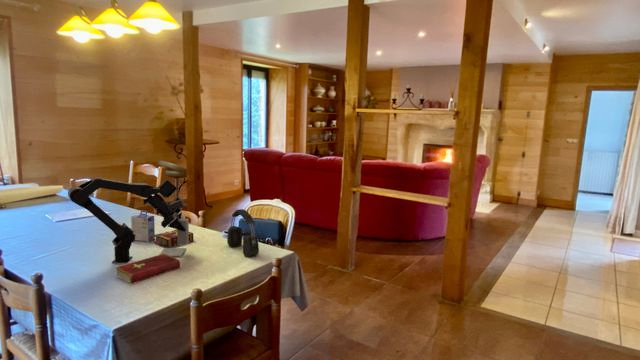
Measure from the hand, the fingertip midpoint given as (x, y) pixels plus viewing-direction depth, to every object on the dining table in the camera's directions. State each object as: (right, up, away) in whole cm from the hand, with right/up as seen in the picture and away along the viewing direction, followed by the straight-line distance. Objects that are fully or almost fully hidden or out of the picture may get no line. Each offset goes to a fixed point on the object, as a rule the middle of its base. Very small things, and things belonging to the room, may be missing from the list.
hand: (186, 229), depth 177 cm
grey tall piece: (-2, -6, +1) cm, 7 cm away
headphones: (+24, -11, +8) cm, 28 cm away
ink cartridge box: (-28, -8, +19) cm, 35 cm away
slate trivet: (-7, -11, +1) cm, 13 cm away
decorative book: (-12, -9, +17) cm, 23 cm away
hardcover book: (-8, -15, -19) cm, 26 cm away
